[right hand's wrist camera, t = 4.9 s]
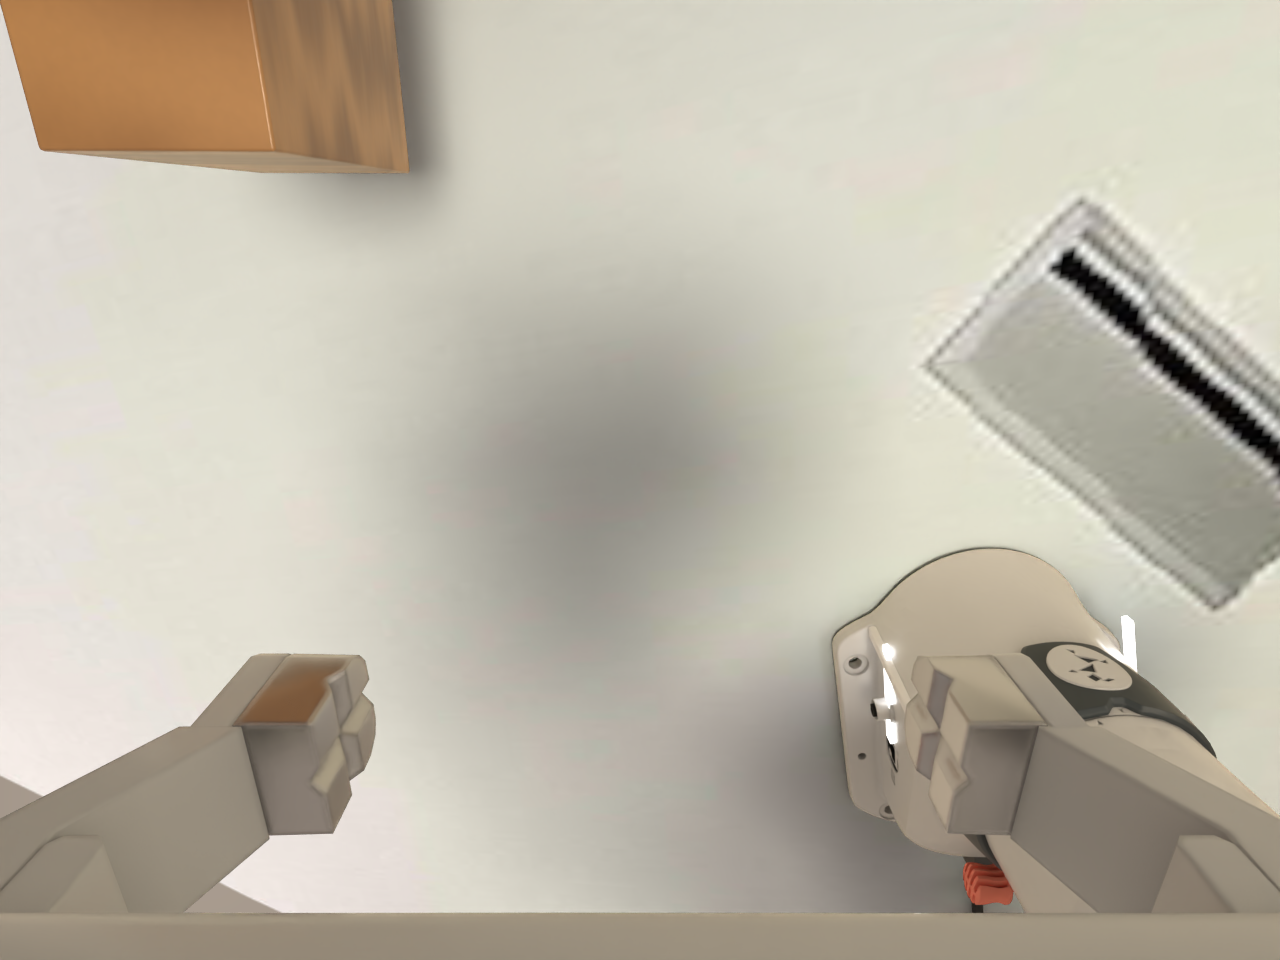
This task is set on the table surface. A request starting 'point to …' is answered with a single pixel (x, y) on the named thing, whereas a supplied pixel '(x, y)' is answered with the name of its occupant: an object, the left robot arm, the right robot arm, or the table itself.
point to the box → (215, 82)
